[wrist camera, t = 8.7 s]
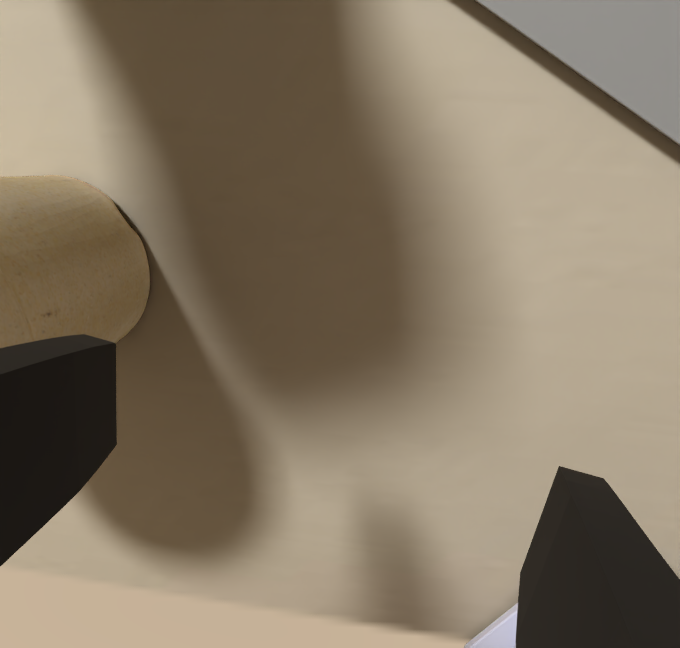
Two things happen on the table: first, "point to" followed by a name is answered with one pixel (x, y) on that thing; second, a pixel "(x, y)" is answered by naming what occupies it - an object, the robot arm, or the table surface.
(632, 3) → the plate
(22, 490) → the robot arm
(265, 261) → the table surface
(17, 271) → the flower pot
